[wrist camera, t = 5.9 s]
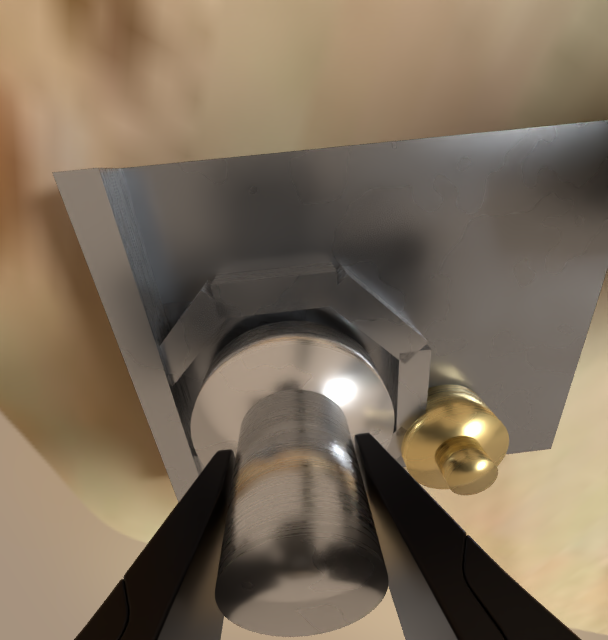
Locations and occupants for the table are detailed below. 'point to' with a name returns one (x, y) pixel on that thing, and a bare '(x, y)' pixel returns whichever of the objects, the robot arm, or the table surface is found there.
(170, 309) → the plate
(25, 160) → the table surface
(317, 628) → the silver metal knob
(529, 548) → the table surface
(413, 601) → the robot arm
